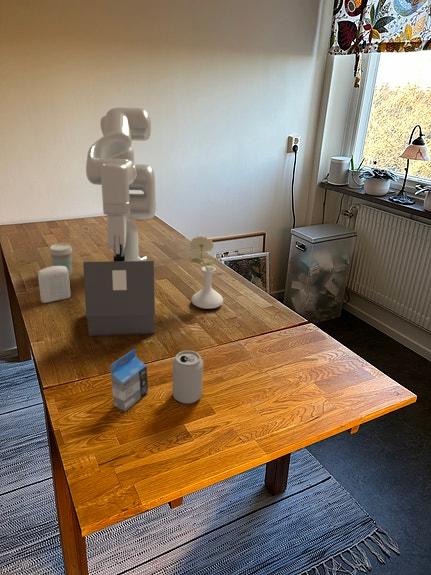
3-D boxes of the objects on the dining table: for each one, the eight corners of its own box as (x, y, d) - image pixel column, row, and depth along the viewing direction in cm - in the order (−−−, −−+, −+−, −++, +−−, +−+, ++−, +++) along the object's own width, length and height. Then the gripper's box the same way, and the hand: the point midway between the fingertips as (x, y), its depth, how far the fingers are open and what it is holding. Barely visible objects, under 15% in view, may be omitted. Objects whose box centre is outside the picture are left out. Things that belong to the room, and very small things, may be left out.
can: (172, 387, 119) (172, 348, 113) (201, 386, 119) (202, 348, 114) (172, 406, 112) (172, 366, 107) (202, 405, 112) (204, 365, 107)
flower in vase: (228, 301, 164) (231, 235, 153) (214, 314, 155) (217, 245, 144) (196, 293, 169) (197, 229, 158) (181, 306, 159) (181, 238, 149)
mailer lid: (83, 261, 133) (83, 262, 132) (153, 260, 136) (153, 261, 135) (86, 316, 136) (86, 317, 135) (154, 314, 139) (154, 314, 138)
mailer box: (94, 311, 153) (92, 293, 150) (153, 309, 156) (153, 291, 153) (88, 336, 139) (87, 316, 136) (154, 333, 142) (154, 314, 139)
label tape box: (125, 412, 109) (122, 370, 104) (112, 406, 111) (109, 364, 106) (148, 393, 116) (147, 352, 111) (136, 387, 118) (134, 347, 113)
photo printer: (68, 293, 165) (65, 262, 159) (72, 298, 162) (69, 266, 156) (39, 299, 160) (35, 267, 154) (43, 304, 156) (38, 271, 151)
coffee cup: (79, 273, 181) (76, 244, 176) (66, 281, 174) (62, 252, 169) (61, 269, 184) (57, 241, 178) (47, 277, 176) (43, 248, 171)
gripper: (105, 201, 136) (108, 259, 143) (100, 214, 122) (105, 277, 130) (130, 201, 137) (132, 258, 144) (129, 214, 123) (131, 276, 131)
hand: (119, 267), depth 137 cm, fingers closed
